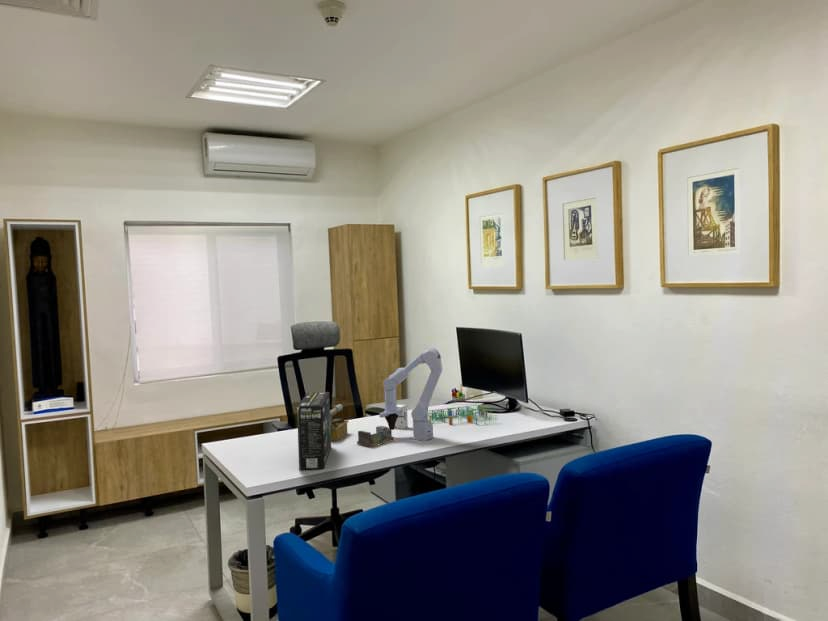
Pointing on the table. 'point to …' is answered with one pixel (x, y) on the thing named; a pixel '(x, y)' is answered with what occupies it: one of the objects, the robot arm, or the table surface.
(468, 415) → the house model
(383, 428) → the gauge slider
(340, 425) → the geiger counter
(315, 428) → the router box
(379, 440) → the stone ruin model
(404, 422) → the ink box
